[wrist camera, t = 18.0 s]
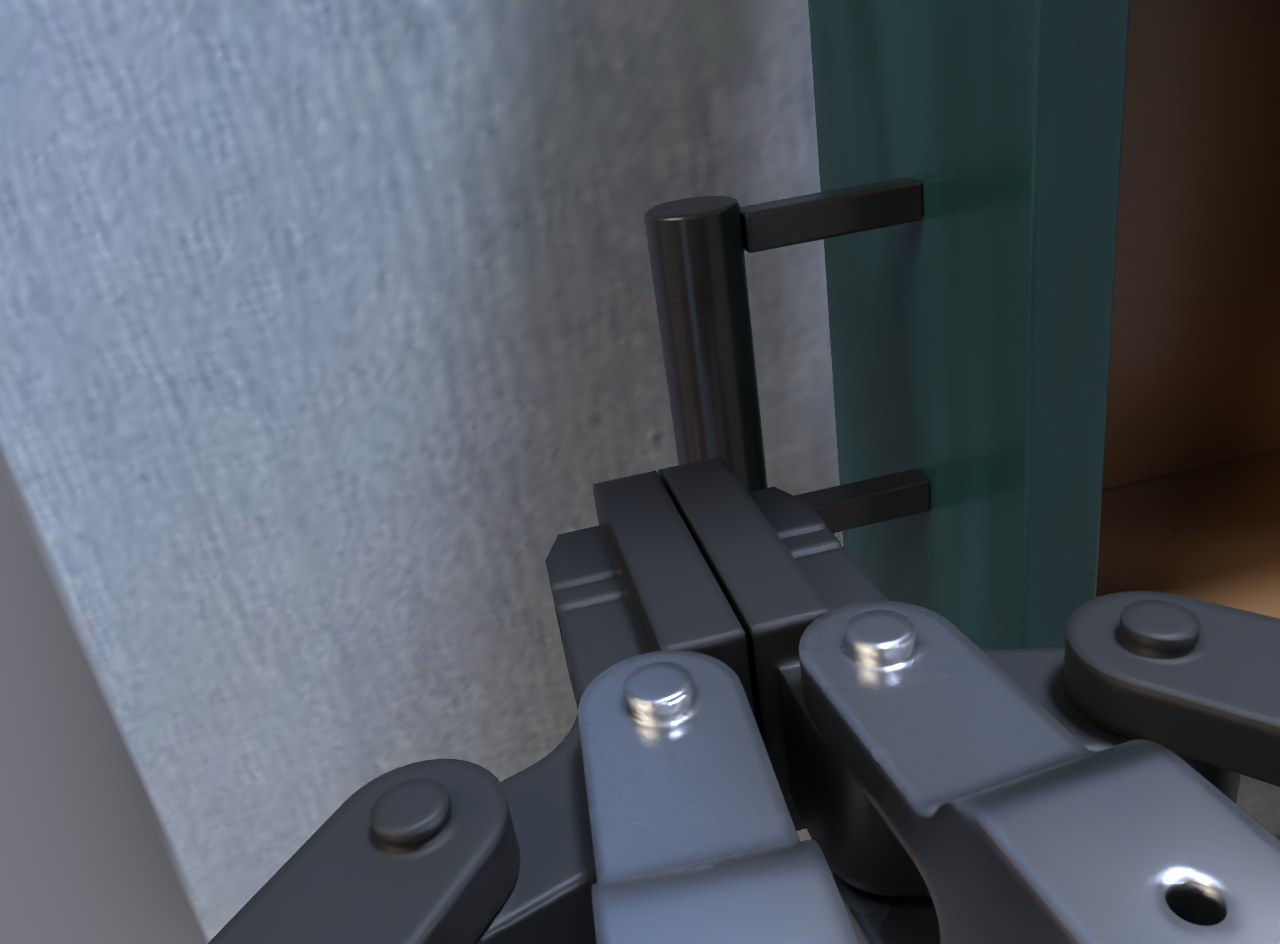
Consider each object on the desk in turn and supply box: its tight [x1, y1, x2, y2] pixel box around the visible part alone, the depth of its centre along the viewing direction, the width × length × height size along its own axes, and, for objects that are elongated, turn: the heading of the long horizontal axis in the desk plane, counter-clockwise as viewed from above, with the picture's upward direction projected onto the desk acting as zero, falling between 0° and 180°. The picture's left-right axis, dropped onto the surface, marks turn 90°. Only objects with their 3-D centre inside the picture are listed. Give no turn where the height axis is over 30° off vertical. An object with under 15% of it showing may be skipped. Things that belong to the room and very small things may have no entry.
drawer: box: [644, 0, 1280, 649], centre depth 18 cm, size 20×14×7 cm
